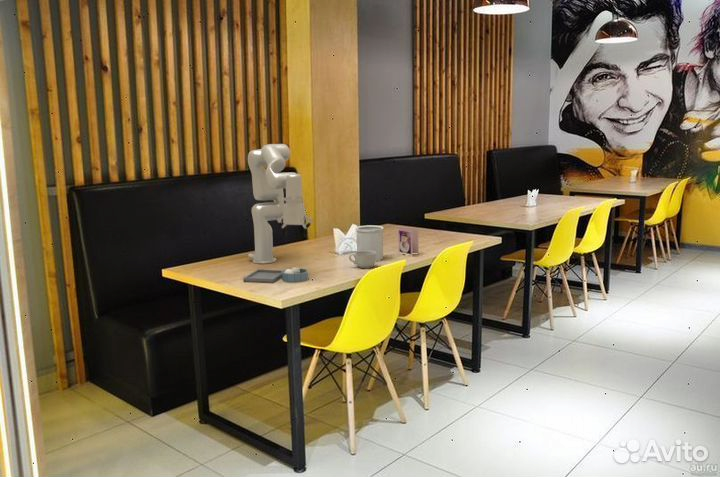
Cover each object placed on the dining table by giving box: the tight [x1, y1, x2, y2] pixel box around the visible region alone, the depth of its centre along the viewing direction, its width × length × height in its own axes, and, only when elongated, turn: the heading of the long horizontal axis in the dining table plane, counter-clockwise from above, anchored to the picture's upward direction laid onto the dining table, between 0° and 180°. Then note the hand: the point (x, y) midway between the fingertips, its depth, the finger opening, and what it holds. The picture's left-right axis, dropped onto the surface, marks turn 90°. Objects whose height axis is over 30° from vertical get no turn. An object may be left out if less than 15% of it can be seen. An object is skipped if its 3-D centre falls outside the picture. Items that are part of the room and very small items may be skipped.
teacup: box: [348, 250, 376, 269], centre depth 327 cm, size 14×11×8 cm
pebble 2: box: [290, 266, 300, 274], centre depth 305 cm, size 5×5×5 cm
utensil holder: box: [355, 224, 385, 262], centre depth 345 cm, size 15×15×18 cm
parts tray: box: [242, 268, 284, 284], centre depth 306 cm, size 15×18×2 cm
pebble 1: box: [284, 268, 294, 274], centre depth 301 cm, size 5×5×5 cm
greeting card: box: [397, 227, 419, 256], centre depth 357 cm, size 11×7×15 cm, turn 39°
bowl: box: [281, 267, 309, 283], centre depth 303 cm, size 12×12×4 cm
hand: (295, 236), depth 302 cm, fingers open, 9 cm apart
